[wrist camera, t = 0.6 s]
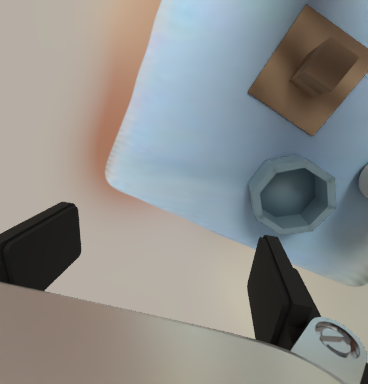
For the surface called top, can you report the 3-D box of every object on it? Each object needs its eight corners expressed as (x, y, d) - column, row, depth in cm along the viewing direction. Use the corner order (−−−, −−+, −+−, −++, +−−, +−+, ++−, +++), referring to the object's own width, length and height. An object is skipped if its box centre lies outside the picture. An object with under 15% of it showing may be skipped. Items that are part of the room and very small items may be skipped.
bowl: (278, 143, 33) (288, 146, 29) (335, 180, 34) (354, 190, 29) (236, 197, 37) (238, 208, 32) (287, 230, 38) (297, 245, 33)
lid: (303, 7, 28) (329, -27, 22) (375, 59, 29) (420, 41, 22) (247, 92, 32) (254, 85, 26) (310, 136, 33) (333, 139, 26)
